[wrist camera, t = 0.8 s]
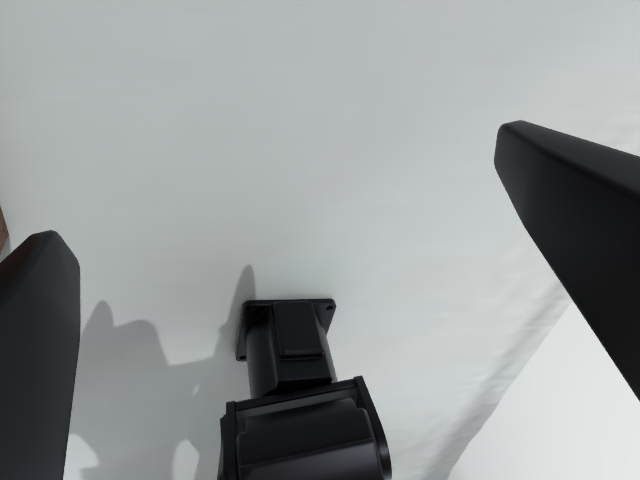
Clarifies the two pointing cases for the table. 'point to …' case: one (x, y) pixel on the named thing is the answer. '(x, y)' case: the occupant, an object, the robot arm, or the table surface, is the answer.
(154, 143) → the table surface
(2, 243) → the tray
